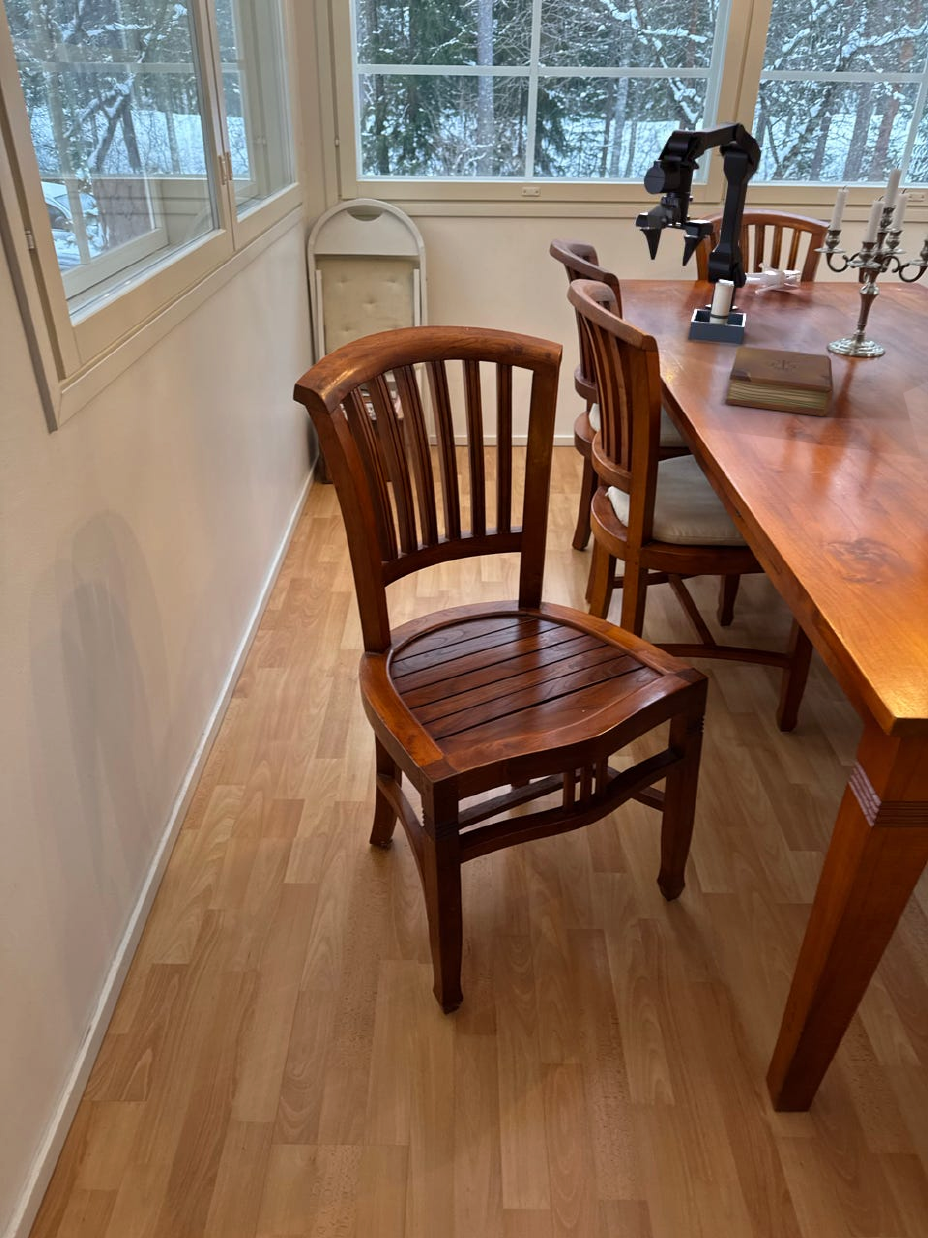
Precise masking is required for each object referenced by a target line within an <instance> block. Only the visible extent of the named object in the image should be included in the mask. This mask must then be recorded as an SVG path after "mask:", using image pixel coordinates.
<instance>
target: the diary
mask: <svg viewBox="0 0 928 1238" xmlns="http://www.w3.org/2000/svg"><path fill="white" fill-rule="evenodd" d="M832 367H833V366H832V360H831V358H830V357H829V355H826V354H825V355H824V354H815V353H806V352H797V351H790V350H789V351H788V350H779V349H771V348H762V347H761V348H760V347H753V346H744V345H738V347H737V349H736V353H735V357H734V361H733V363H732V368H731V371H730V375H729V380H730V381H729V386H728V389H727V393H726V397H725V401H724V404H726V405H732V406H733V405H734V406H741V407H749V408H756V409H763V410H770V411H771V410H773V411H779V412H786V413H787V412H789V413H795V414H804V415H810V416H819V417H824V416H825V415H827V413H829V410H830V406H831V403H832V399H833V395H834V383H833V382H834V381H833V369H832Z"/></svg>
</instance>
